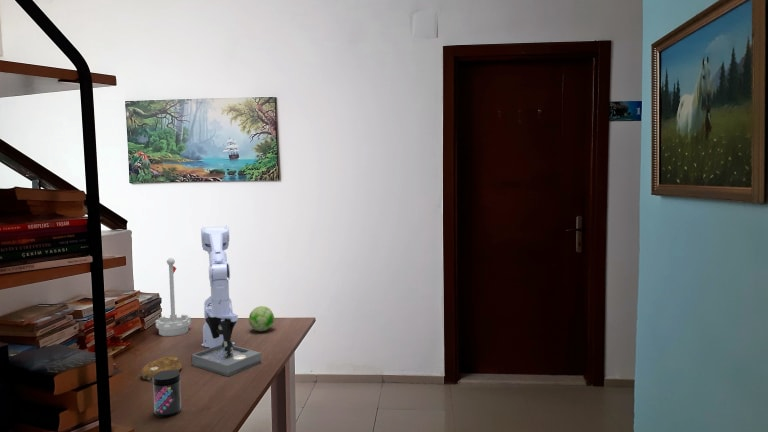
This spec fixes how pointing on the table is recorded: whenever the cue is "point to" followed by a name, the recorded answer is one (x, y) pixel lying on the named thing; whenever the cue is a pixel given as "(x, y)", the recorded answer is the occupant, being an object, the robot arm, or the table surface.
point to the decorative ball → (261, 318)
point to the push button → (225, 343)
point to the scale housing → (227, 361)
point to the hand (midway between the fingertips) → (221, 339)
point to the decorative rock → (160, 367)
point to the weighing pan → (220, 355)
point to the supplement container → (167, 393)
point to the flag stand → (173, 312)
